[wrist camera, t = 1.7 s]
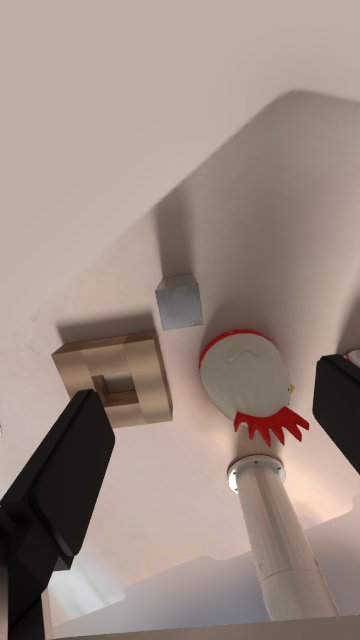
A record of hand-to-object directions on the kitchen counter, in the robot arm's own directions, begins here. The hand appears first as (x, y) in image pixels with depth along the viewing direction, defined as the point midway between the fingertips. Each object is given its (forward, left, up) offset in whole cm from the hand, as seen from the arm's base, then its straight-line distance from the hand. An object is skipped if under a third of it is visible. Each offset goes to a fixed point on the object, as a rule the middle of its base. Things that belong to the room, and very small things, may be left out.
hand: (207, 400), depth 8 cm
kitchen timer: (-15, -7, -24) cm, 29 cm away
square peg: (0, +1, -23) cm, 23 cm away
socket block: (-14, +14, -23) cm, 30 cm away
